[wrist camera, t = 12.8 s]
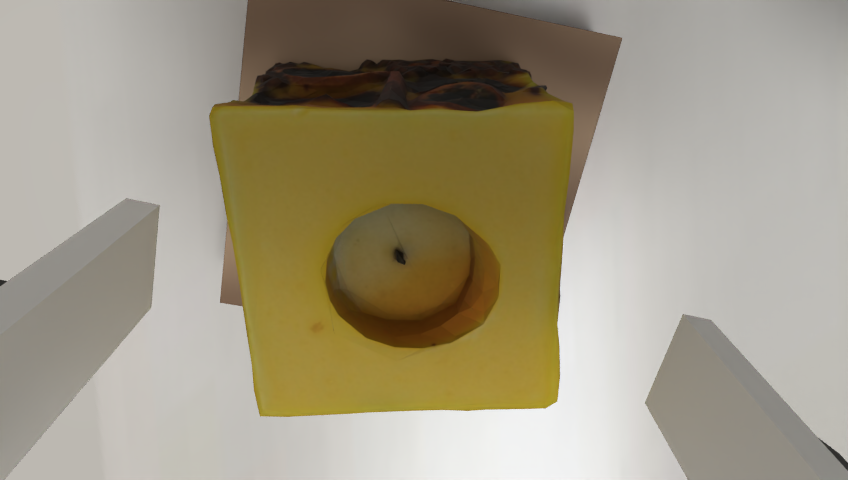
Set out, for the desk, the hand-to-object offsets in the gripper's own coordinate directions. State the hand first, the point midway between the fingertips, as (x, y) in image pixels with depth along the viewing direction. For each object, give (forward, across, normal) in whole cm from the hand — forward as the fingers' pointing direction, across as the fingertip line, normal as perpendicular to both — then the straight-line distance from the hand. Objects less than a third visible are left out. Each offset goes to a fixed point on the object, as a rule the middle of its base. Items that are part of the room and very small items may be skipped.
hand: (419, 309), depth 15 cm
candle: (+13, -1, 0) cm, 13 cm away
